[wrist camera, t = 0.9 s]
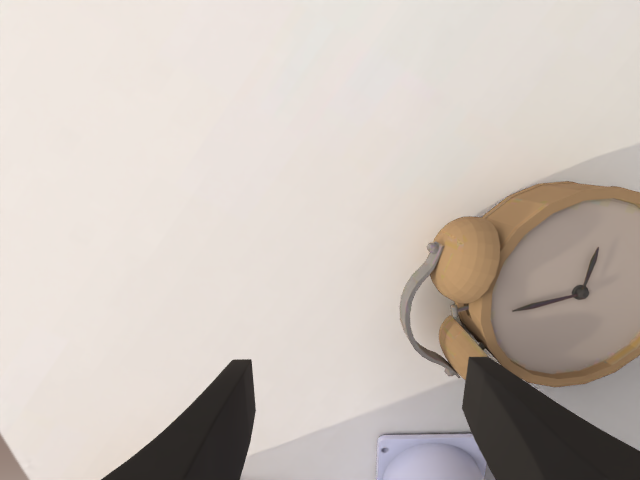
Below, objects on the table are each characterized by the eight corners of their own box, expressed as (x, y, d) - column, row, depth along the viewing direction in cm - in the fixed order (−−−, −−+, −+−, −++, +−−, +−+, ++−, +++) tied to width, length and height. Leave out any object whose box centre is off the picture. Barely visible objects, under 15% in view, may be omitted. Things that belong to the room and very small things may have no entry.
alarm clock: (684, 357, 19) (442, 445, 17) (598, 317, 23) (403, 383, 22) (703, 160, 16) (410, 243, 14) (599, 160, 20) (372, 222, 19)
